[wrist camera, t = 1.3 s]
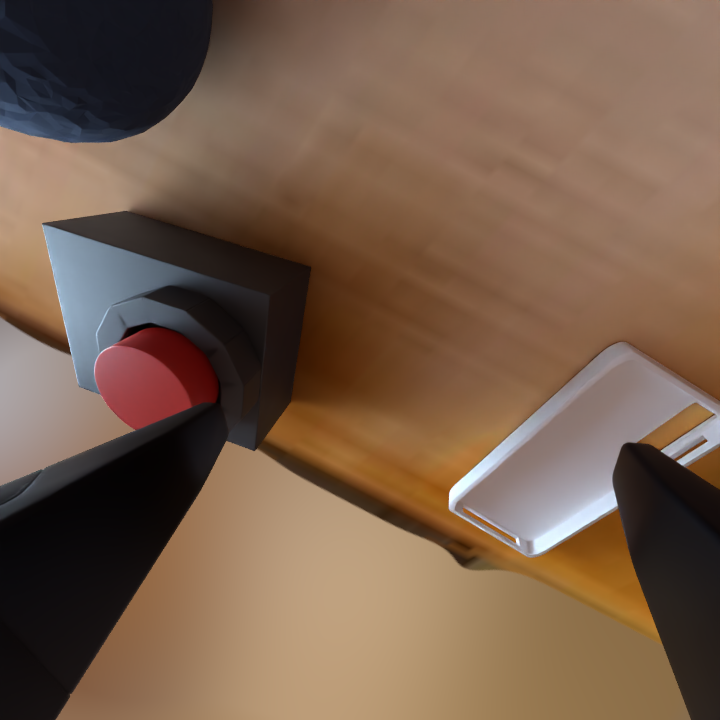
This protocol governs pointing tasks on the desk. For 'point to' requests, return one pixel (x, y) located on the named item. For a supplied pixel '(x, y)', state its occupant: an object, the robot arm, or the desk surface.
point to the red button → (154, 376)
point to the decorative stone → (98, 64)
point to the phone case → (579, 450)
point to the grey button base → (184, 306)
